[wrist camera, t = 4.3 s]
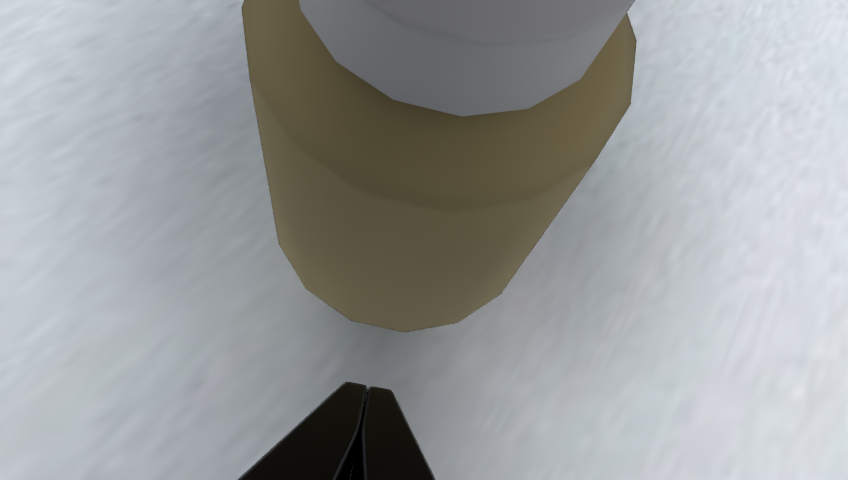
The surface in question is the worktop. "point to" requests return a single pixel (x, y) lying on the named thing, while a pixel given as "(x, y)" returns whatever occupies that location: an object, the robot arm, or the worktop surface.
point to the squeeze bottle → (428, 139)
